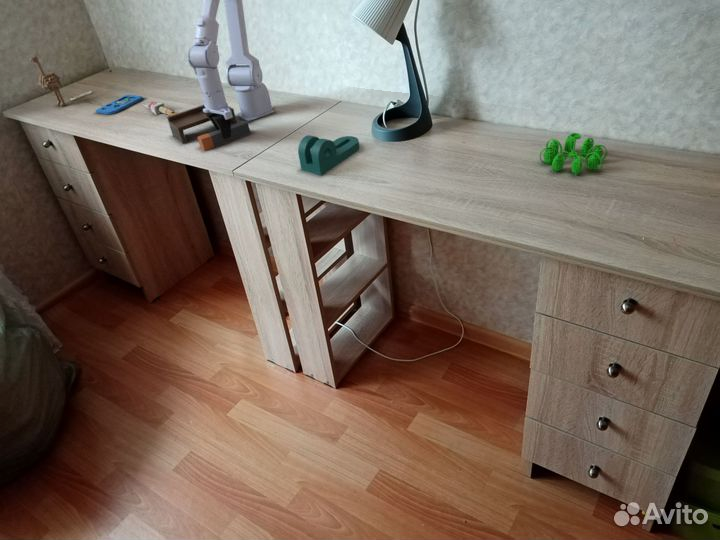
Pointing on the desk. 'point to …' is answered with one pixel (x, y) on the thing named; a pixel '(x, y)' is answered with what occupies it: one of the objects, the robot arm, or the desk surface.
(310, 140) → the bracket
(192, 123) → the shelf
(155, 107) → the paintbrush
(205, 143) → the marker
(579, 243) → the desk surface
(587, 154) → the chandelier
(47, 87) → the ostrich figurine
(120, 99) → the handheld gaming device
